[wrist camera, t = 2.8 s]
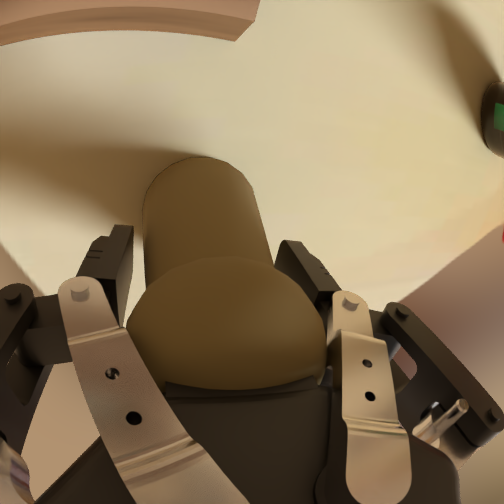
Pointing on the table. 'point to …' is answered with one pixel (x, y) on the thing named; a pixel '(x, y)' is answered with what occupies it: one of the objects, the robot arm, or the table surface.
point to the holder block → (125, 17)
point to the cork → (218, 289)
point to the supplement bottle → (494, 118)
